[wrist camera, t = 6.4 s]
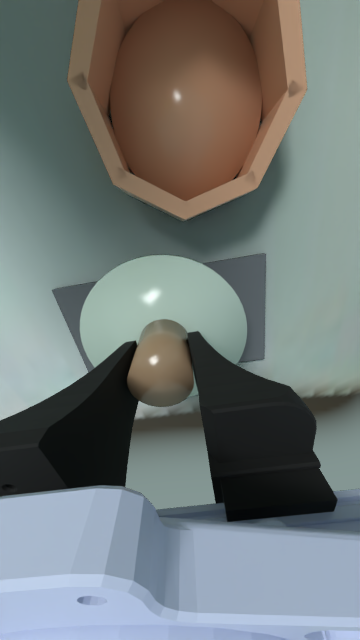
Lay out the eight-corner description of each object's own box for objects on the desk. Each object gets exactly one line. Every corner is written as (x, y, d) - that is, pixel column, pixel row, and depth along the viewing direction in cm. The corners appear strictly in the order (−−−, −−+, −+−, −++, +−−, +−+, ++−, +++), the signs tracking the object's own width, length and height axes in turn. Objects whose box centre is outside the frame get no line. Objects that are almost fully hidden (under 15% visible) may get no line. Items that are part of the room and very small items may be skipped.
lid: (273, 296, 12) (324, 334, 8) (198, 404, 16) (206, 465, 12) (112, 218, 10) (68, 217, 6) (71, 364, 14) (29, 422, 10)
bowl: (307, 57, 9) (354, -4, 7) (219, 239, 12) (230, 242, 10) (130, -76, 8) (109, -214, 5) (82, 172, 11) (55, 155, 8)
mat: (263, 253, 13) (266, 253, 12) (262, 355, 16) (264, 358, 16) (55, 288, 13) (51, 290, 13) (95, 379, 17) (93, 382, 16)
